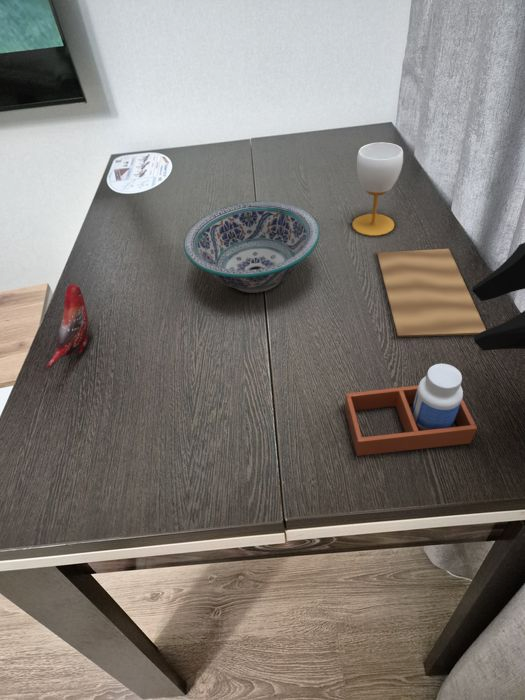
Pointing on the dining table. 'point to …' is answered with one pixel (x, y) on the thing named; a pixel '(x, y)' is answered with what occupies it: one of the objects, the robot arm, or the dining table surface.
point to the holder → (403, 423)
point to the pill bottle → (438, 398)
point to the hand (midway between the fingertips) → (477, 318)
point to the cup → (377, 183)
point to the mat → (428, 294)
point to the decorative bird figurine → (72, 325)
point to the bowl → (252, 243)
